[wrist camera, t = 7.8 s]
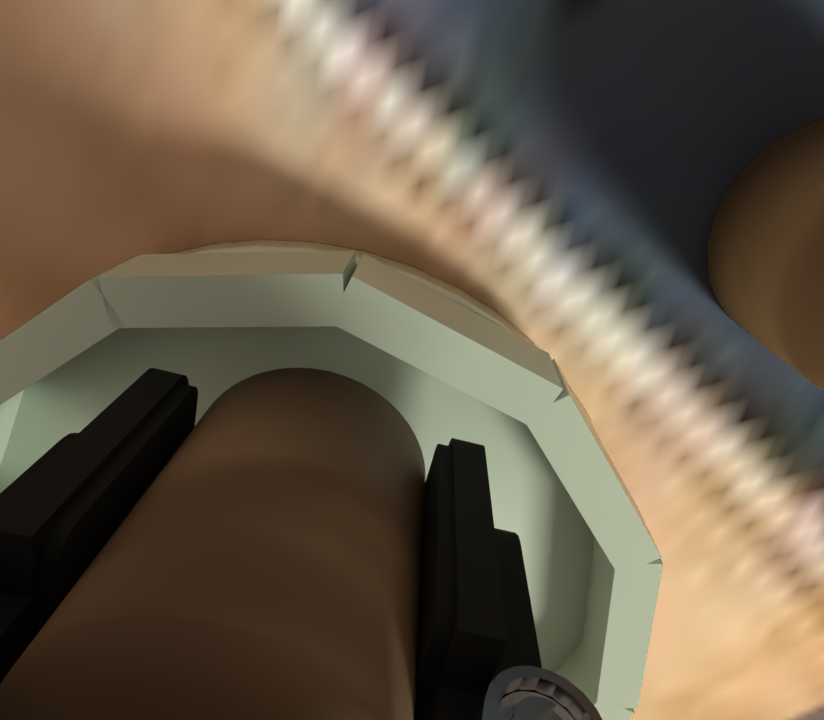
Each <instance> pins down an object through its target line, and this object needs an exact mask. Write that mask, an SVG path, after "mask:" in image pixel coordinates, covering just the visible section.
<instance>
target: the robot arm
mask: <svg viewBox="0 0 824 720" xmlns="http://www.w3.org/2000/svg"><path fill="white" fill-rule="evenodd" d="M197 400H198V389H197V387H194V386H190V385H189V382H188V378H187V376H186V375H182V374H177V373H173V372H169V371H164V370H160V369H156V368H150V369H148V370H147V371H146V372H145V373H144V374H143V375H141V376H140V377H139V378H138V379H137V380H136V381H135V382H134V383H133V384H132V385H131V386H129V387H128V388H127V389H126V390H125V391H124V392H123V393H122V394H121V395H120V396H119V397H117V398H116V399H115V400H114V401H113V402H112V403H111V404H110V405H109V406H108V407H107V408H105V409H104V410H103V411H102V412H101V413H100V414H99V415H98V416H97V417H96V418H95V419H94V420H92V421H91V422H90V423H89V424H88V425H87V426H86V427H85V428H84V429H83V430H82V431H80V432H79V433H69V434H68V435H66V436H65V437H63V438H62V439H61V440H60V441H58V442H57V443H56V444H55V445H54V446H53V447H52V448H51V449H49V450H48V451H47V452H46V453H45V454H44V455H43V456H42V457H41V458H39V459H38V460H37V461H36V462H35V463H34V464H33V465H32V466H30V467H29V468H28V469H27V470H26V471H25V472H24V473H23V474H21V475H20V476H19V477H18V478H17V479H16V480H15V481H14V482H13V483H11V484H10V485H9V486H8V487H7V488H6V489H5V490H4V491H2V492H1V493H0V684H1V682H2V681H3V679H4V677H5V676H6V675H7V674H8V672H9V671H10V670H11V668H12V667H13V666H14V664H15V663H16V662H17V660H18V659H19V658H20V656H21V655H22V654H23V652H24V651H25V650H26V648H27V647H28V646H29V644H30V643H31V642H32V641H33V639H34V638H35V637H36V635H37V634H38V633H39V631H40V630H41V629H42V627H43V626H44V625H45V623H46V622H47V621H48V619H49V618H50V617H51V615H52V614H53V613H54V611H55V610H56V609H57V608H58V606H59V605H60V604H61V602H62V601H63V600H64V598H65V597H66V596H67V594H68V593H69V592H70V590H71V589H72V588H73V586H74V585H75V584H76V582H77V581H78V580H79V578H80V577H81V576H82V575H83V573H84V572H85V571H86V569H87V568H88V567H89V565H90V564H91V563H92V561H93V560H94V559H95V557H96V556H97V555H98V553H99V552H100V551H101V549H102V548H103V547H104V546H105V544H106V543H107V542H108V540H109V539H110V538H111V536H112V535H113V534H114V532H115V531H116V530H117V528H118V527H119V526H120V524H121V523H122V522H123V520H124V519H125V518H126V516H127V515H128V514H129V513H130V511H131V510H132V509H133V507H134V506H135V505H136V503H137V502H138V501H139V499H140V498H141V497H142V495H143V494H144V493H145V491H146V490H147V489H148V487H149V486H150V485H151V483H152V482H153V481H154V480H155V478H156V477H157V476H158V474H159V473H160V472H161V470H162V469H163V468H164V466H165V465H166V464H167V462H168V461H169V460H170V458H171V457H172V456H173V454H174V453H175V452H176V450H177V449H178V448H179V447H180V445H181V444H182V443H183V441H184V440H185V439H186V437H187V436H188V435H189V433H190V432H191V431H192V429H193V428H194V427H195V419H196V409H197ZM415 686H416V694H415V716H414V720H602V718H601V716H600V714H599V712H598V710H597V708H596V707H595V706H594V705H593V704H592V702H591V701H590V700H589V699H588V698H587V696H586V695H585V694H584V693H583V692H582V691H581V690H580V689H578V688H577V687H576V686H575V685H573V684H572V683H571V682H570V681H568V680H567V679H566V678H564V677H562V676H560V675H558V674H556V673H554V672H552V671H550V670H547V669H543V668H542V664H541V659H540V653H539V647H538V641H537V635H536V629H535V624H534V618H533V612H532V606H531V600H530V595H529V589H528V583H527V577H526V571H525V566H524V560H523V554H522V548H521V542H520V539H519V536H518V535H517V534H516V533H515V532H510V531H506V530H502V529H497V528H494V521H493V512H492V504H491V495H490V486H489V478H488V469H487V461H486V452H485V447H484V445H480V444H476V443H472V442H467V441H463V440H459V439H455V438H452V439H451V440H450V442H449V445H448V446H447V445H443V444H437V446H436V449H435V452H434V455H433V459H432V462H431V465H430V469H429V472H428V475H427V479H426V482H425V496H424V517H423V538H422V558H421V579H420V600H419V621H418V642H417V663H416V683H415Z"/></svg>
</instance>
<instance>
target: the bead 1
mask: <svg viewBox="0 0 824 720" xmlns="http://www.w3.org/2000/svg"><path fill="white" fill-rule="evenodd" d="M425 480H426V473H425V463H424V458H423V454H422V450H421V447H420V445H419V443H418V440H417V438H416V436H415V434H414V432H413V430H412V429H411V427H410V425H409V424H408V422H407V421H406V420H405V419H404V417H403V416H402V415H401V414H400V412H399V411H398V410H397V409H396V408H395V407H394V406H393V405H392V404H391V403H390V402H389V401H388V400H386V399H385V398H384V397H382V396H381V395H380V394H378V393H377V392H376V391H374V390H372V389H371V388H369V387H367V386H366V385H364V384H362V383H360V382H358V381H356V380H353V379H351V378H349V377H346V376H343V375H340V374H337V373H333V372H330V371H325V370H319V369H313V368H282V369H276V370H271V371H266V372H262V373H259V374H256V375H253V376H250V377H248V378H246V379H244V380H242V381H240V382H238V383H236V384H235V385H233V386H232V387H230V388H229V389H227V390H226V391H225V392H223V393H222V394H221V395H220V396H219V397H218V398H217V399H216V400H215V401H214V402H213V403H212V405H211V406H210V407H209V408H208V410H207V411H206V412H205V414H204V415H203V416H202V418H201V419H200V420H199V421H198V423H197V424H196V425H195V427H194V428H193V429H192V431H191V432H190V433H189V435H188V436H187V437H186V439H185V440H184V441H183V443H182V444H181V445H180V447H179V448H178V449H177V450H176V452H175V453H174V454H173V456H172V457H171V458H170V460H169V461H168V462H167V464H166V465H165V466H164V468H163V469H162V470H161V472H160V473H159V474H158V476H157V477H156V478H155V480H154V481H153V482H152V483H151V485H150V486H149V487H148V489H147V490H146V491H145V493H144V494H143V495H142V497H141V498H140V499H139V501H138V502H137V503H136V505H135V506H134V507H133V509H132V510H131V511H130V513H129V514H128V515H127V516H126V518H125V519H124V520H123V522H122V523H121V524H120V526H119V527H118V528H117V530H116V531H115V532H114V534H113V535H112V536H111V538H110V539H109V540H108V542H107V543H106V544H105V546H104V547H103V548H102V549H101V551H100V552H99V553H98V555H97V556H96V557H95V559H94V560H93V561H92V563H91V564H90V565H89V567H88V568H87V569H86V571H85V572H84V573H83V575H82V576H81V577H80V578H79V580H78V581H77V582H76V584H75V585H74V586H73V588H72V589H71V590H70V592H69V593H68V594H67V596H66V597H65V598H64V600H63V601H62V602H61V604H60V605H59V606H58V608H57V609H56V610H55V611H54V613H53V614H52V615H51V617H50V618H49V619H48V621H47V622H46V623H45V625H44V626H43V627H42V629H41V630H40V631H39V633H38V634H37V635H36V637H35V638H34V639H33V641H32V642H31V643H30V644H29V646H28V647H27V648H26V650H25V651H24V652H23V654H22V655H21V656H20V658H19V659H18V660H17V662H16V663H15V664H14V666H13V667H12V668H11V670H10V671H9V672H8V674H7V675H6V676H5V677H4V679H3V681H2V682H1V684H0V720H414V716H415V694H416V686H415V683H416V663H417V642H418V621H419V600H420V579H421V558H422V538H423V517H424V496H425Z"/></svg>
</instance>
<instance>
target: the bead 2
mask: <svg viewBox="0 0 824 720" xmlns="http://www.w3.org/2000/svg"><path fill="white" fill-rule="evenodd" d="M707 267H708V274H709V279H710V283H711V286H712V289H713V292H714V295H715V297H716V298H717V300H718V302H719V304H720V306H721V307H722V308H723V310H724V311H725V312H726V314H727V315H728V316H729V317H730V318H731V319H732V320H733V321H734V322H735V323H736V324H737V325H739V326H740V327H741V328H742V329H744V330H745V331H746V332H748V333H749V334H750V335H751V336H753V337H754V338H755V339H757V340H758V341H759V342H760V343H762V344H763V345H764V346H766V347H767V348H768V349H770V350H771V351H772V352H773V353H775V354H776V355H777V356H779V357H780V358H781V359H782V360H784V361H785V362H786V363H788V364H789V365H790V366H791V367H793V368H794V369H795V370H797V371H798V372H799V373H801V374H802V375H803V376H804V377H806V378H807V379H808V380H810V381H811V382H812V383H813V384H815V385H816V386H817V387H819V388H820V389H821V390H823V391H824V119H822V120H819V121H817V122H814V123H811V124H808V125H805V126H803V127H801V128H799V129H797V130H795V131H793V132H791V133H789V134H787V135H786V136H784V137H782V138H781V139H779V140H778V141H776V142H774V143H773V144H772V145H770V146H769V147H768V148H767V149H765V150H764V151H763V152H761V153H760V154H759V155H758V156H757V157H756V158H755V159H754V160H753V161H752V162H751V163H750V164H749V165H748V166H747V167H746V168H745V169H744V170H743V171H742V172H741V174H740V175H739V176H738V177H737V179H736V180H735V181H734V182H733V184H732V185H731V187H730V189H729V190H728V192H727V193H726V195H725V196H724V198H723V200H722V202H721V204H720V206H719V208H718V210H717V213H716V216H715V218H714V221H713V224H712V227H711V231H710V236H709V240H708V250H707Z"/></svg>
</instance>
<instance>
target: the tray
mask: <svg viewBox="0 0 824 720" xmlns="http://www.w3.org/2000/svg"><path fill="white" fill-rule="evenodd" d="M150 368H156V369H160V370H164V371H169V372H173V373H177V374H182V375H186V376H187V378H188V382H189V385H190V386H194V387H197V389H198V400H197V409H196V419H195V425H196V424H197V423H198V421H199V420H200V419H201V418H202V416H203V415H204V414H205V412H206V411H207V410H208V408H209V407H210V406H211V405H212V403H213V402H214V401H215V400H216V399H217V398H218V397H219V396H220V395H221V394H222V393H223V392H225V391H226V390H227V389H229V388H230V387H232V386H233V385H235V384H236V383H238V382H240V381H242V380H244V379H246V378H248V377H250V376H253V375H256V374H259V373H262V372H266V371H271V370H276V369H282V368H313V369H319V370H325V371H330V372H333V373H337V374H340V375H343V376H346V377H349V378H351V379H353V380H356V381H358V382H360V383H362V384H364V385H366V386H367V387H369V388H371V389H372V390H374V391H376V392H377V393H378V394H380V395H381V396H382V397H384V398H385V399H386V400H388V401H389V402H390V403H391V404H392V405H393V406H394V407H395V408H396V409H397V410H398V411H399V412H400V414H401V415H402V416H403V417H404V419H405V420H406V421H407V422H408V424H409V425H410V427H411V429H412V430H413V432H414V434H415V436H416V438H417V440H418V443H419V445H420V447H421V450H422V454H423V458H424V463H425V473H426V479H427V475H428V472H429V469H430V465H431V462H432V459H433V455H434V452H435V449H436V446H437V444H443V445H447V446H448V445H449V442H450V440H451V439H452V438H455V439H459V440H463V441H467V442H472V443H476V444H480V445H484V447H485V452H486V461H487V469H488V478H489V486H490V495H491V504H492V512H493V521H494V528H497V529H502V530H506V531H510V532H515V533H516V534H517V535H518V536H519V539H520V542H521V548H522V554H523V560H524V566H525V571H526V577H527V583H528V589H529V595H530V600H531V606H532V612H533V618H534V624H535V629H536V635H537V641H538V647H539V653H540V659H541V664H542V668H543V669H547V670H550V671H552V672H554V673H556V674H558V675H560V676H562V677H564V678H566V679H567V680H568V681H570V682H571V683H572V684H573V685H575V686H576V687H577V688H578V689H580V690H581V691H582V692H583V693H584V694H585V695H586V696H587V698H588V699H589V700H590V701H591V702H592V704H593V705H594V706H595V707H596V708H597V710H598V712H599V714H600V716H601V718H602V720H628V719H629V718H630V717H631V716H632V715H633V714H634V713H635V712H634V709H633V708H638V703H639V697H640V692H641V686H642V680H643V675H644V669H645V663H646V658H647V652H648V646H649V641H650V635H651V629H652V624H653V618H654V612H655V607H656V601H657V595H658V590H659V584H660V578H661V572H662V567H663V563H662V561H661V559H660V558H662V557H661V555H660V553H659V550H658V548H657V546H656V544H655V542H654V540H653V538H652V536H651V534H650V532H649V529H648V527H647V525H646V523H645V521H644V519H643V517H642V515H641V513H640V510H639V508H638V506H637V505H636V503H635V501H634V499H633V497H632V496H631V494H630V492H629V490H628V489H627V487H626V485H625V483H624V482H623V480H622V478H621V476H620V474H619V473H618V471H617V469H616V467H615V466H614V464H613V462H612V460H611V458H610V457H609V455H608V453H607V451H606V450H605V448H604V446H603V444H602V442H601V441H600V439H599V437H598V435H597V432H596V430H595V428H594V426H593V424H592V422H591V420H590V417H589V415H588V413H587V411H586V409H585V408H584V406H583V405H582V403H581V402H580V400H579V399H578V397H577V396H576V394H575V393H574V391H573V390H572V388H571V387H570V385H569V384H568V382H567V380H566V379H565V377H564V375H563V373H562V372H561V370H560V368H559V366H558V364H557V363H556V361H555V359H553V360H551V358H550V355H549V353H547V352H545V351H543V350H542V349H540V348H538V347H537V346H536V345H535V344H534V343H533V342H532V341H530V340H529V339H528V338H527V337H526V336H524V335H523V334H522V333H521V332H520V331H519V330H517V329H516V328H515V327H514V326H513V325H511V324H510V323H509V322H508V321H507V320H505V319H504V318H503V317H502V316H501V315H500V314H498V313H497V312H495V311H494V310H492V309H490V308H489V307H487V306H486V305H484V304H483V303H481V302H479V301H478V300H476V299H475V298H473V297H472V296H470V295H468V294H467V293H465V292H464V291H462V290H460V289H459V288H457V287H455V286H453V285H451V284H449V283H447V282H444V281H442V280H440V279H438V278H436V277H434V276H431V275H429V274H427V273H425V272H423V271H421V270H419V269H416V268H414V267H412V266H409V265H406V264H402V263H399V262H396V261H393V260H390V259H387V258H384V257H380V256H377V255H374V254H371V253H368V252H365V251H360V250H354V249H349V248H343V247H338V246H332V245H327V244H321V243H315V242H299V241H279V240H254V241H242V242H230V243H218V244H212V245H207V246H203V247H198V248H194V249H189V250H185V251H180V252H176V253H171V254H141V255H139V256H137V257H132V258H130V259H128V260H126V261H124V262H122V263H120V264H118V265H116V266H114V267H112V268H111V269H109V270H107V271H105V272H103V273H101V274H99V275H97V276H95V277H93V278H91V279H89V280H88V281H86V282H85V283H83V284H82V285H80V286H79V287H77V288H76V289H75V290H73V291H72V292H70V293H69V294H67V295H66V296H64V297H63V298H61V299H60V300H59V301H57V302H56V303H54V304H53V305H51V306H50V307H48V308H47V309H45V310H44V311H42V312H41V313H40V314H38V315H37V316H35V317H34V318H32V319H31V320H29V321H28V322H26V323H25V324H24V325H22V326H21V327H19V328H18V329H16V330H15V331H13V332H12V333H10V334H9V335H8V336H6V337H5V338H3V339H2V340H0V493H1V492H2V491H4V490H5V489H6V488H7V487H8V486H9V485H10V484H11V483H13V482H14V481H15V480H16V479H17V478H18V477H19V476H20V475H21V474H23V473H24V472H25V471H26V470H27V469H28V468H29V467H30V466H32V465H33V464H34V463H35V462H36V461H37V460H38V459H39V458H41V457H42V456H43V455H44V454H45V453H46V452H47V451H48V450H49V449H51V448H52V447H53V446H54V445H55V444H56V443H57V442H58V441H60V440H61V439H62V438H63V437H65V436H66V435H68V434H69V433H79V432H80V431H82V430H83V429H84V428H85V427H86V426H87V425H88V424H89V423H90V422H91V421H92V420H94V419H95V418H96V417H97V416H98V415H99V414H100V413H101V412H102V411H103V410H104V409H105V408H107V407H108V406H109V405H110V404H111V403H112V402H113V401H114V400H115V399H116V398H117V397H119V396H120V395H121V394H122V393H123V392H124V391H125V390H126V389H127V388H128V387H129V386H131V385H132V384H133V383H134V382H135V381H136V380H137V379H138V378H139V377H140V376H141V375H143V374H144V373H145V372H146V371H147V370H148V369H150ZM425 482H426V480H425Z"/></svg>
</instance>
